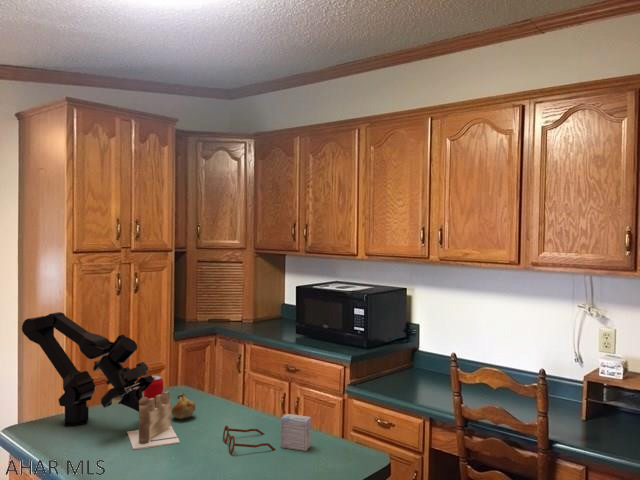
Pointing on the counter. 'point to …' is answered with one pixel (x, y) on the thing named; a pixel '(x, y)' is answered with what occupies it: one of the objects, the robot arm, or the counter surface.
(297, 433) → the medicine box
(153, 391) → the beverage can
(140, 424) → the gatepost
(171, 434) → the card
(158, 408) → the fence section
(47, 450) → the counter surface
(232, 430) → the glasses
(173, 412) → the onion
